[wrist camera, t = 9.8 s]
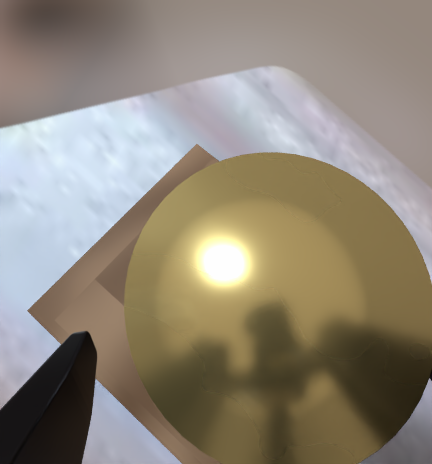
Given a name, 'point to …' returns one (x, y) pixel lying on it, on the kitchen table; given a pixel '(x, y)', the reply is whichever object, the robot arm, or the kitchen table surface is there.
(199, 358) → the pin
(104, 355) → the block
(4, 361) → the kitchen table surface
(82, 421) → the robot arm
